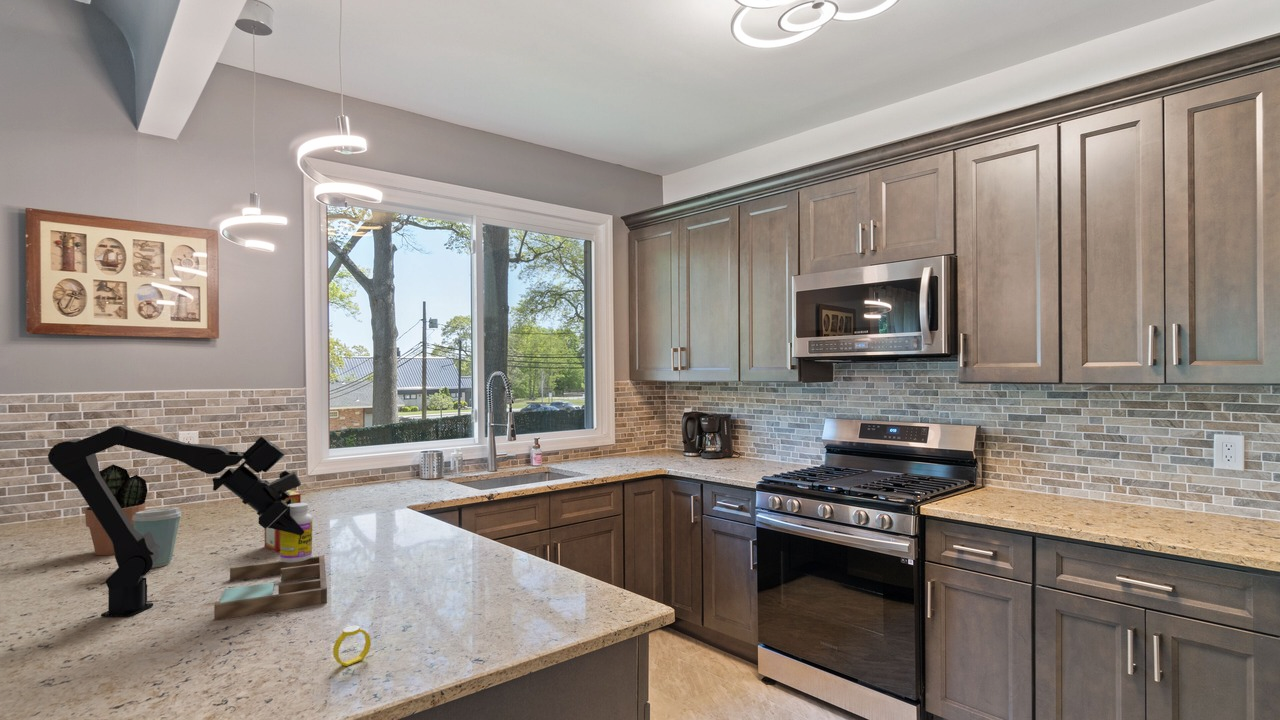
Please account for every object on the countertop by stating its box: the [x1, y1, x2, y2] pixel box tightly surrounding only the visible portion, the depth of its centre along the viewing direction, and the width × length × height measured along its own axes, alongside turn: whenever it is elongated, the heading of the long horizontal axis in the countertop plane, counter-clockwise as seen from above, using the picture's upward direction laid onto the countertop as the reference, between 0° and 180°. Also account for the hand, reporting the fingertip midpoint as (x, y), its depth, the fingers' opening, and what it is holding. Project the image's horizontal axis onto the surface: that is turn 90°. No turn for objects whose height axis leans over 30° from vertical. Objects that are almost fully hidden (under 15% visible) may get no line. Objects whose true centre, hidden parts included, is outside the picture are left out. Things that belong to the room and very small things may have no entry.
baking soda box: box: [264, 489, 302, 553], centre depth 188 cm, size 10×6×16 cm
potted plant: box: [84, 463, 148, 556], centre depth 186 cm, size 14×14×25 cm
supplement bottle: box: [279, 502, 313, 562], centre depth 152 cm, size 7×7×13 cm
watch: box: [332, 625, 372, 667], centre depth 111 cm, size 6×3×6 cm, turn 139°
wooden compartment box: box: [213, 555, 328, 621], centre depth 150 cm, size 21×30×3 cm
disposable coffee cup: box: [132, 507, 183, 569], centre depth 171 cm, size 11×11×15 cm
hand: (303, 530), depth 152 cm, fingers closed on supplement bottle, 7 cm apart
